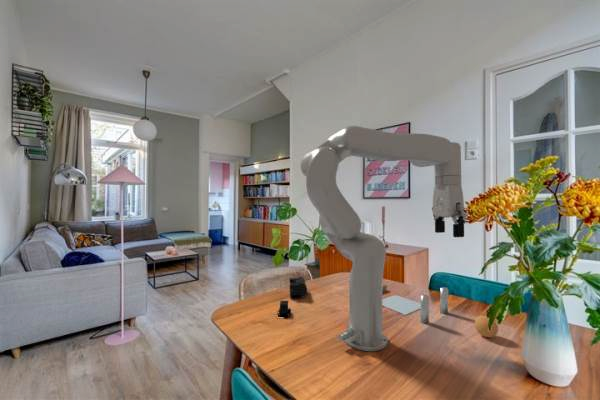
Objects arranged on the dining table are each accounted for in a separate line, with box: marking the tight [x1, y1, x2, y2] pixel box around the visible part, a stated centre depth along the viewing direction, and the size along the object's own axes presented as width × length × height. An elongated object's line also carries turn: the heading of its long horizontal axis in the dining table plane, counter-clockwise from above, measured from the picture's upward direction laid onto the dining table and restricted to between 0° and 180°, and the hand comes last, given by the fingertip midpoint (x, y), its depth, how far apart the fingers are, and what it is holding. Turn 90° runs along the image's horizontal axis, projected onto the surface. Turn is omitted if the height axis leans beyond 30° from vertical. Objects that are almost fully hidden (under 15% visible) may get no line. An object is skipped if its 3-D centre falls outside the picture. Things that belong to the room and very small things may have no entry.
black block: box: [277, 300, 292, 319], centre depth 100 cm, size 12×7×5 cm, turn 1°
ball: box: [474, 315, 499, 338], centre depth 84 cm, size 6×6×6 cm
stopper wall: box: [382, 283, 388, 293], centre depth 119 cm, size 18×2×2 cm, turn 126°
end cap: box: [289, 276, 308, 300], centre depth 118 cm, size 10×7×7 cm
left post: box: [420, 294, 430, 325], centre depth 93 cm, size 3×3×9 cm
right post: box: [439, 286, 449, 315], centre depth 100 cm, size 3×3×9 cm
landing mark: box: [382, 294, 421, 316], centre depth 108 cm, size 14×14×1 cm
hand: (448, 234), depth 88 cm, fingers open, 9 cm apart
